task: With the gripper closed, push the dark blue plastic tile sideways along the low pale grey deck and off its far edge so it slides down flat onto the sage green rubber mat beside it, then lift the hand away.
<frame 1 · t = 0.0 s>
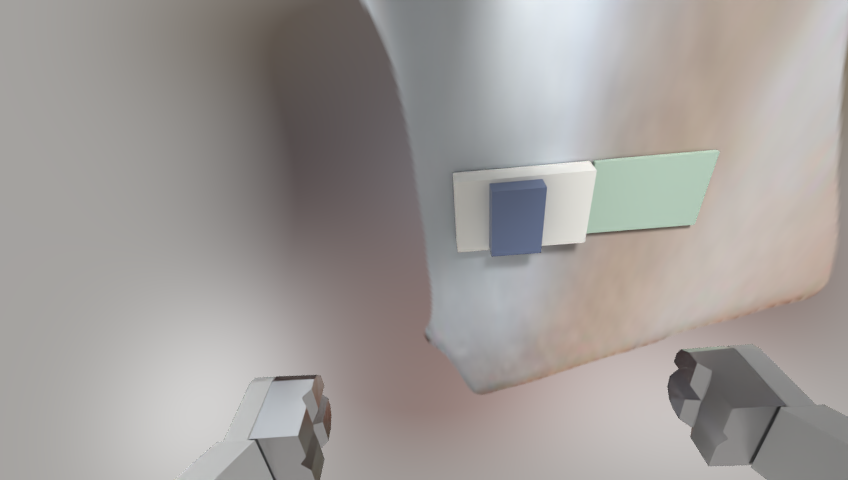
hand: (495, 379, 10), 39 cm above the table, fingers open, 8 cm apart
deck: (518, 203, 52), on the table
mat: (645, 192, 51), on the table
tile: (514, 214, 50), point 2 cm above the table, touching deck
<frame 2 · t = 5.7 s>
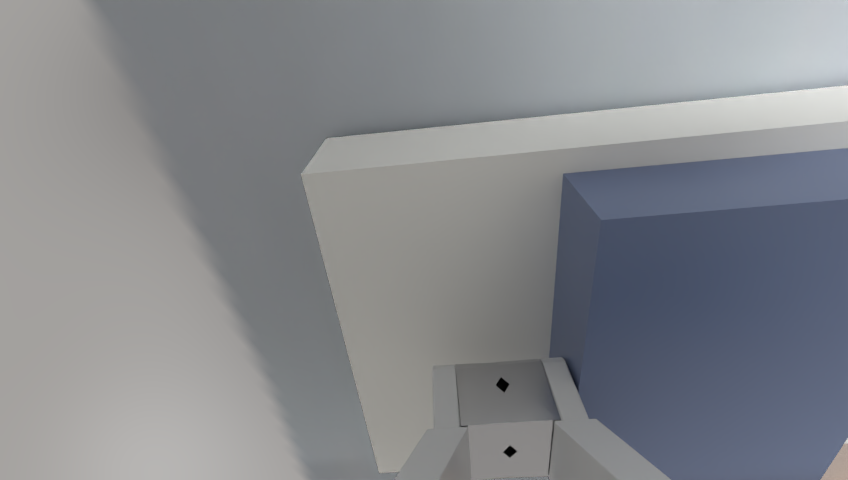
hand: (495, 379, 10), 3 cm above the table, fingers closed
deck: (625, 276, 12), on the table
tile: (672, 334, 10), point 3 cm above the table, touching deck, gripper
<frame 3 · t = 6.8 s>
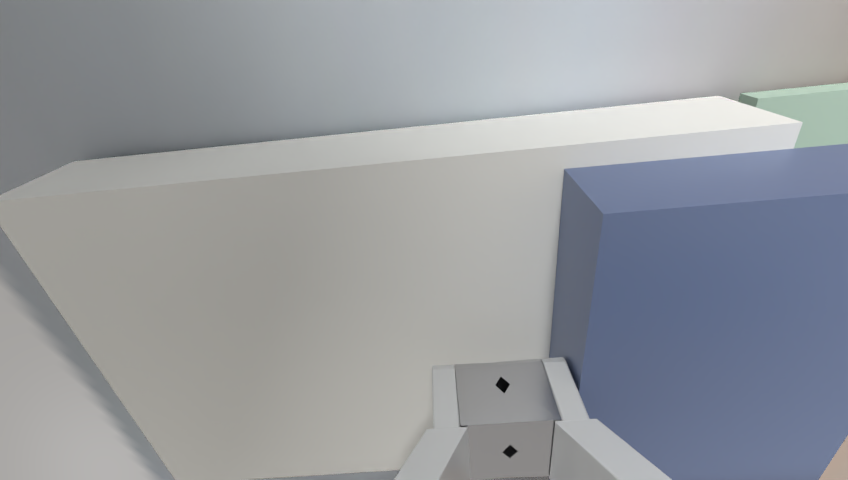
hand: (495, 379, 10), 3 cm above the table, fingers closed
deck: (408, 292, 13), on the table
tile: (673, 331, 10), point 3 cm above the table, touching deck
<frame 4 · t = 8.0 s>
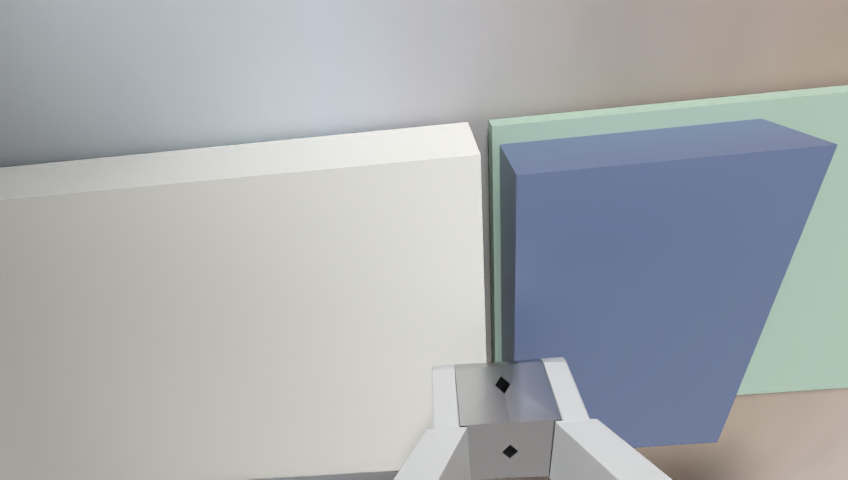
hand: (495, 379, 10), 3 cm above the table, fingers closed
deck: (218, 307, 13), on the table
mat: (728, 266, 12), on the table
tile: (606, 287, 12), point 1 cm above the table, touching mat
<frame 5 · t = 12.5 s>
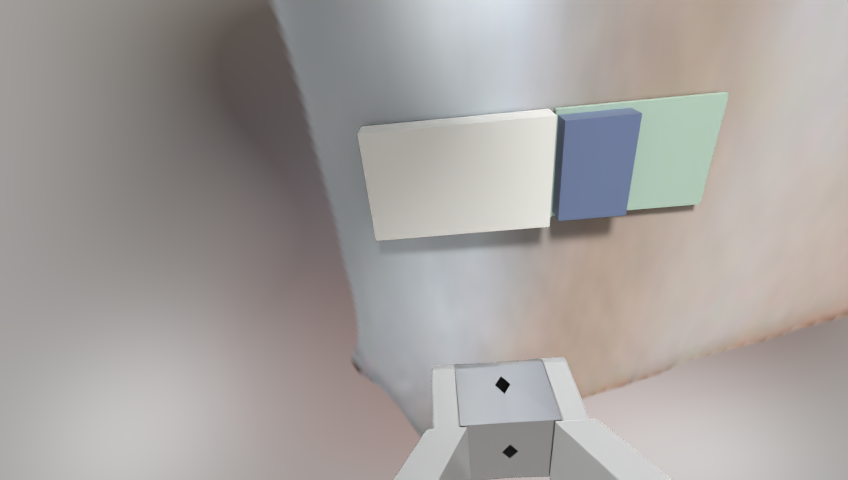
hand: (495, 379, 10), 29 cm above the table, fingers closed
deck: (457, 172, 38), on the table
mat: (629, 157, 37), on the table
tile: (589, 162, 37), point 1 cm above the table, touching mat
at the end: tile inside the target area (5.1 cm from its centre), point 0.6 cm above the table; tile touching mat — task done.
